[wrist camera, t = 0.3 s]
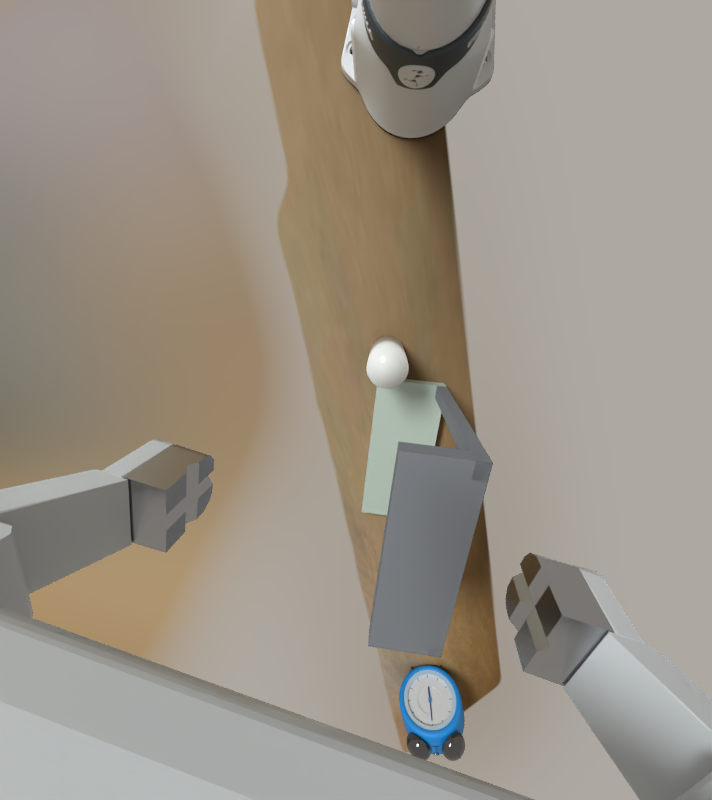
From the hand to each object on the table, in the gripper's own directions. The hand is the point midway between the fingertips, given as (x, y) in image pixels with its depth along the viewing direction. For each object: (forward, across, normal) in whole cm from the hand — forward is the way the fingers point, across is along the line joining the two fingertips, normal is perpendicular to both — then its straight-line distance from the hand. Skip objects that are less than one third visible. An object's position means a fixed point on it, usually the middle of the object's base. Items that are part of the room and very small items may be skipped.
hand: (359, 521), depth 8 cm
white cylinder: (+46, +2, +6) cm, 47 cm away
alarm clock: (+45, -27, +77) cm, 93 cm away
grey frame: (+46, -5, +23) cm, 51 cm away
